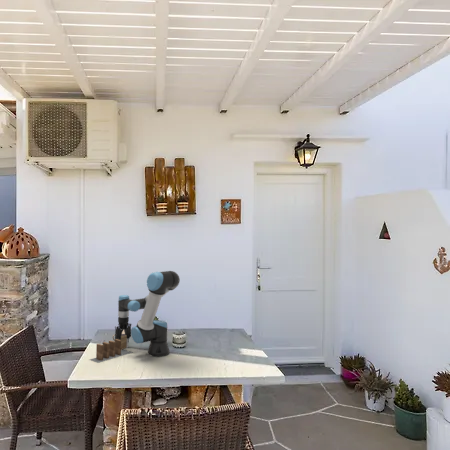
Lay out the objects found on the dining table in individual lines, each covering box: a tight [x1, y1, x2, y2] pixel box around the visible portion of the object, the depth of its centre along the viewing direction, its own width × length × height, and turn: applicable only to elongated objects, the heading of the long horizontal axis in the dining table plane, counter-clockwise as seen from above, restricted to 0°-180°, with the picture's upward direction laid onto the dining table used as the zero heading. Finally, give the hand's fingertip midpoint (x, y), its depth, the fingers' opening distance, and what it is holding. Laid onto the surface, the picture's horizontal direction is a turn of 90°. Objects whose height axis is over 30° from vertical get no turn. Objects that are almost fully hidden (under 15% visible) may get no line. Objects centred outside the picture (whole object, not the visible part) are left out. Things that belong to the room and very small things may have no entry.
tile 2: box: [113, 338, 122, 355], centre depth 295 cm, size 2×5×10 cm, turn 54°
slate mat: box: [89, 349, 134, 364], centre depth 291 cm, size 10×30×1 cm, turn 144°
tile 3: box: [108, 340, 115, 357], centre depth 291 cm, size 2×5×10 cm, turn 54°
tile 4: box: [102, 341, 110, 359], centre depth 287 cm, size 2×5×10 cm, turn 54°
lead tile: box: [120, 335, 127, 350], centre depth 308 cm, size 2×5×10 cm, turn 144°
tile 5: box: [95, 343, 103, 360], centre depth 283 cm, size 2×5×10 cm, turn 54°
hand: (122, 348), depth 308 cm, fingers open, 6 cm apart
